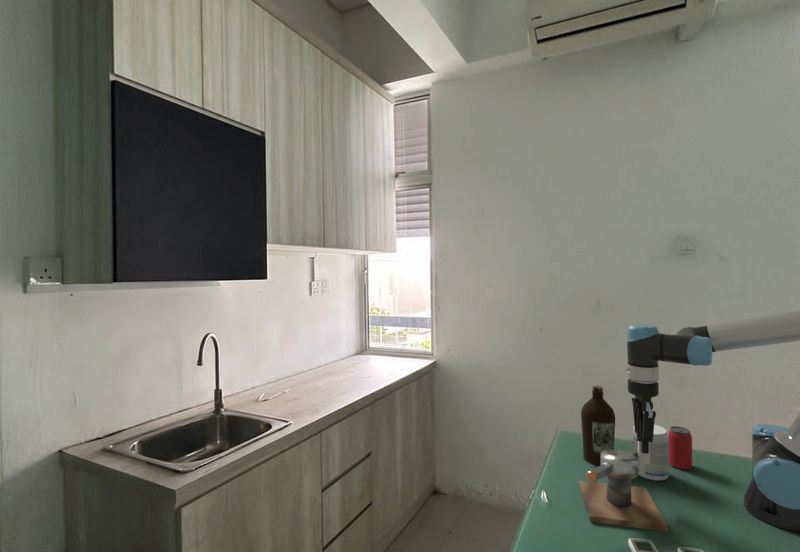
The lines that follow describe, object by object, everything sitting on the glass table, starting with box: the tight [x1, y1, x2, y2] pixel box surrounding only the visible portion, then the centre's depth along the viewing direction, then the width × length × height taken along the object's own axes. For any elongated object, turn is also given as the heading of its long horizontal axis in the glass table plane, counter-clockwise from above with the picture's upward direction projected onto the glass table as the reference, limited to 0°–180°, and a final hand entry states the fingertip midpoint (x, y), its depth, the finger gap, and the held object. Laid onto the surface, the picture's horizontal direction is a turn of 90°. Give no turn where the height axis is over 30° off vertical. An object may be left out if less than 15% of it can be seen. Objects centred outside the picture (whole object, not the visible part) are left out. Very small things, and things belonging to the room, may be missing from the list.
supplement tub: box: [632, 424, 670, 481], centre depth 131 cm, size 10×10×15 cm
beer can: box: [667, 425, 693, 470], centre depth 136 cm, size 7×7×12 cm
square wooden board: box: [578, 475, 669, 532], centre depth 115 cm, size 18×18×10 cm
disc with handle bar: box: [585, 446, 638, 482], centre depth 114 cm, size 27×9×4 cm, turn 124°
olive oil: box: [580, 385, 616, 466], centre depth 141 cm, size 11×11×25 cm
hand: (643, 462), depth 117 cm, fingers closed
